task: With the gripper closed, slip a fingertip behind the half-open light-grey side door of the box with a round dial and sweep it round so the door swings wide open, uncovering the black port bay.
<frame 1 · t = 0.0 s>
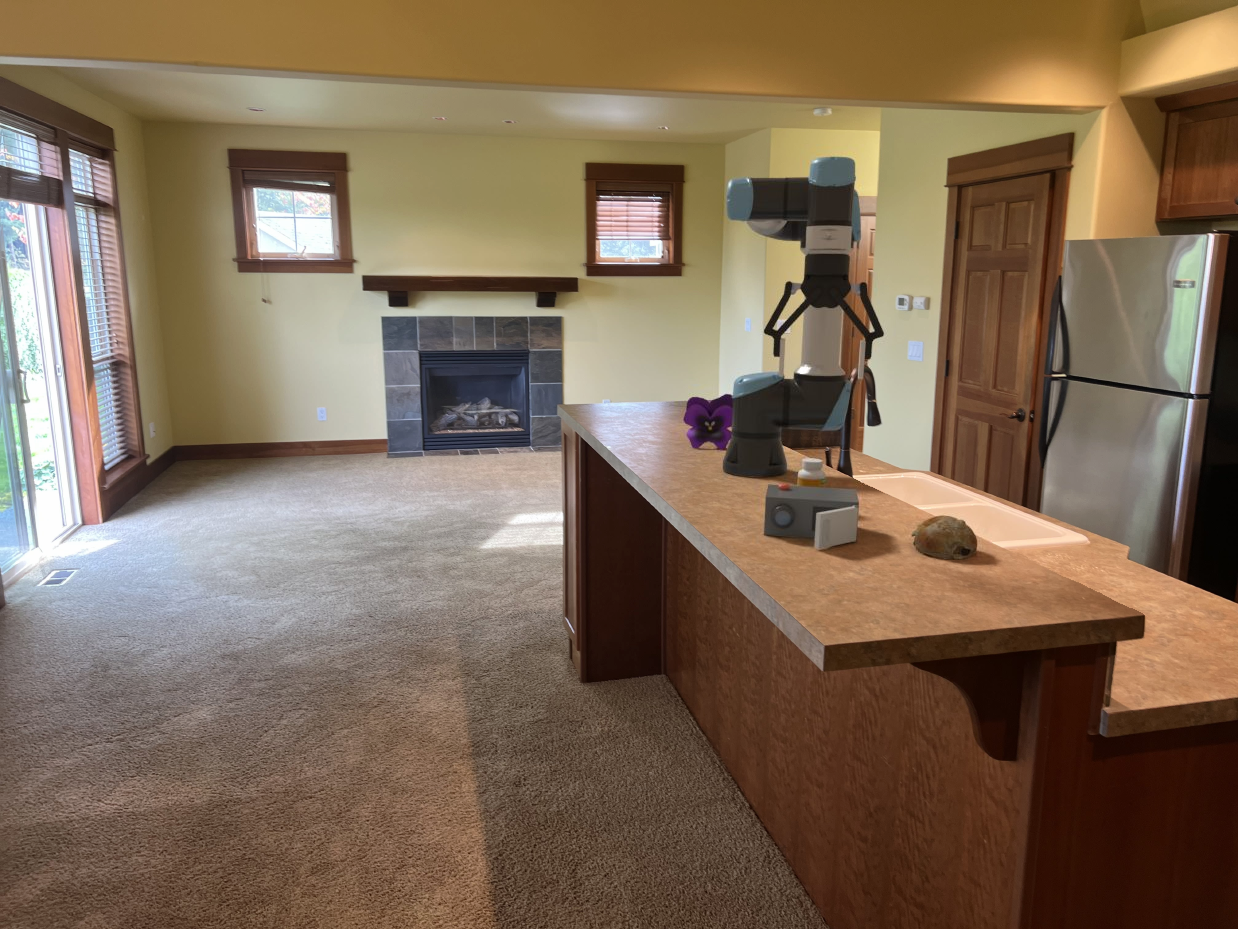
hand: (820, 377, 156), 28 cm above the countertop, tool pointing down, fingers open, 13 cm apart
supplement bottle: (809, 508, 178), on the countertop
box with round dial: (809, 530, 162), on the countertop
flower: (710, 445, 244), on the countertop
bread roll: (941, 552, 151), on the countertop
side door: (838, 527, 152), point 3 cm above the countertop, hinge at 45.0°
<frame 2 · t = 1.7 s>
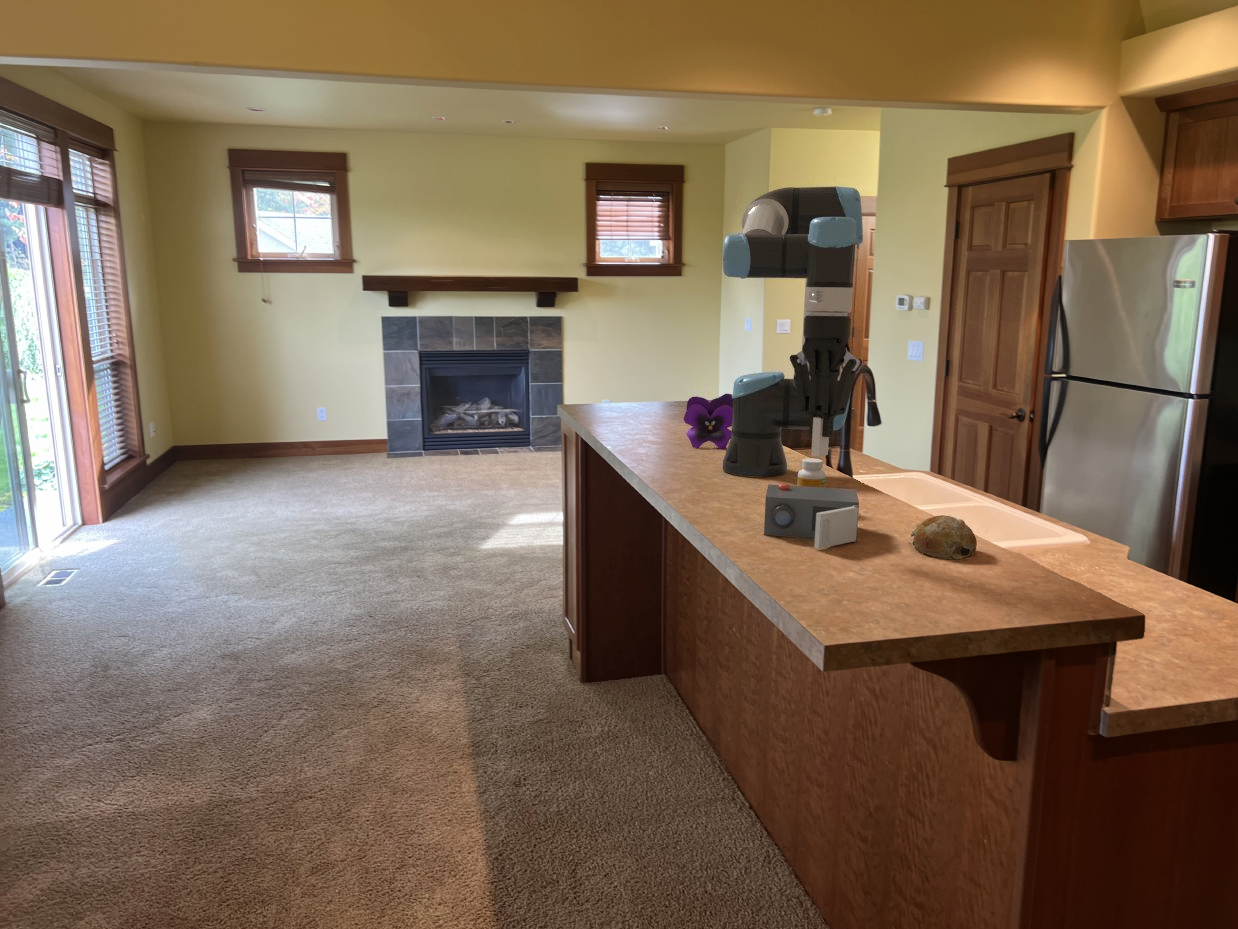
hand: (819, 455, 151), 16 cm above the countertop, tool pointing down, fingers closed
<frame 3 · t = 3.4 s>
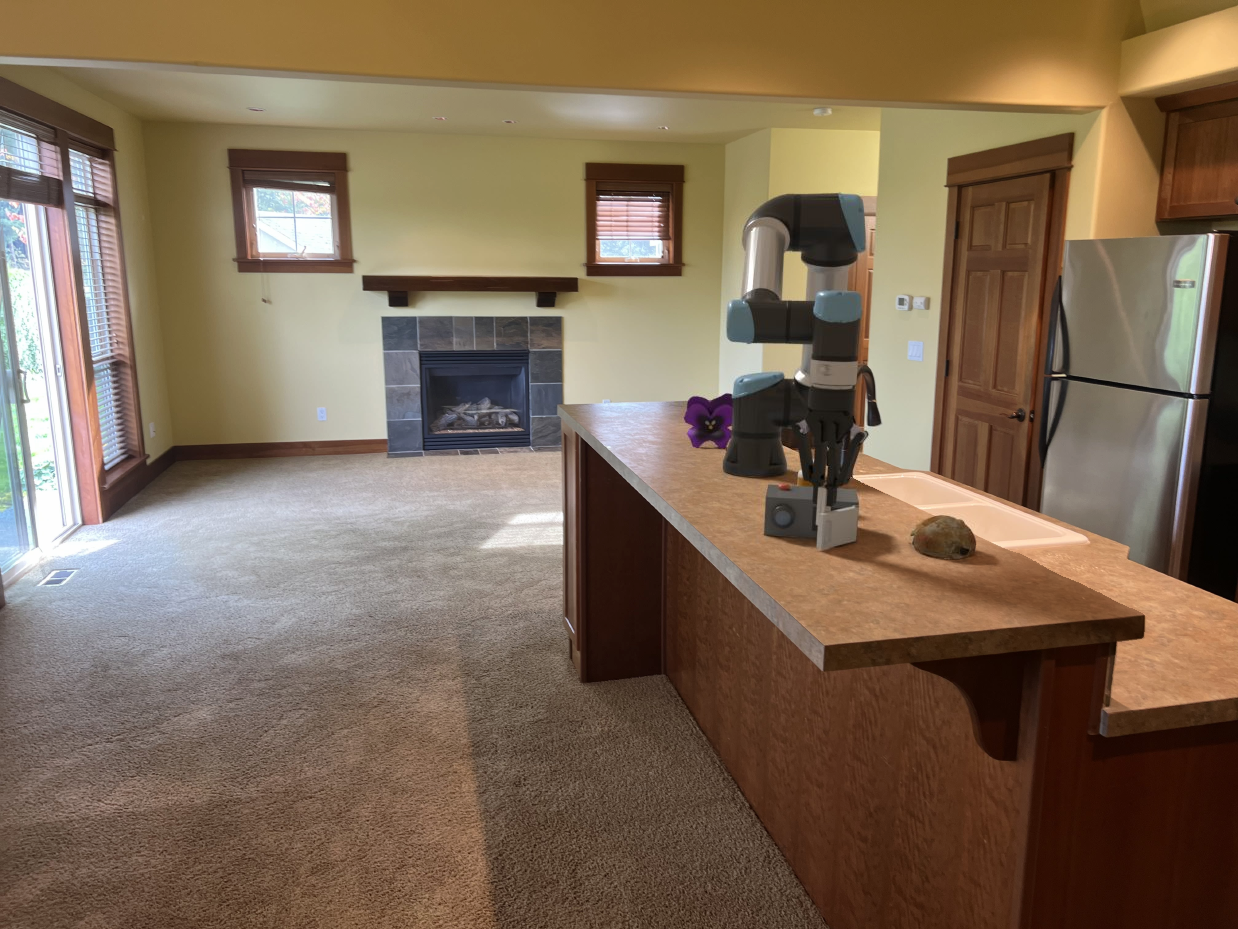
hand: (822, 523, 152), 4 cm above the countertop, tool pointing down, fingers closed
side door: (839, 527, 152), point 3 cm above the countertop, hinge at 48.4°, touching gripper
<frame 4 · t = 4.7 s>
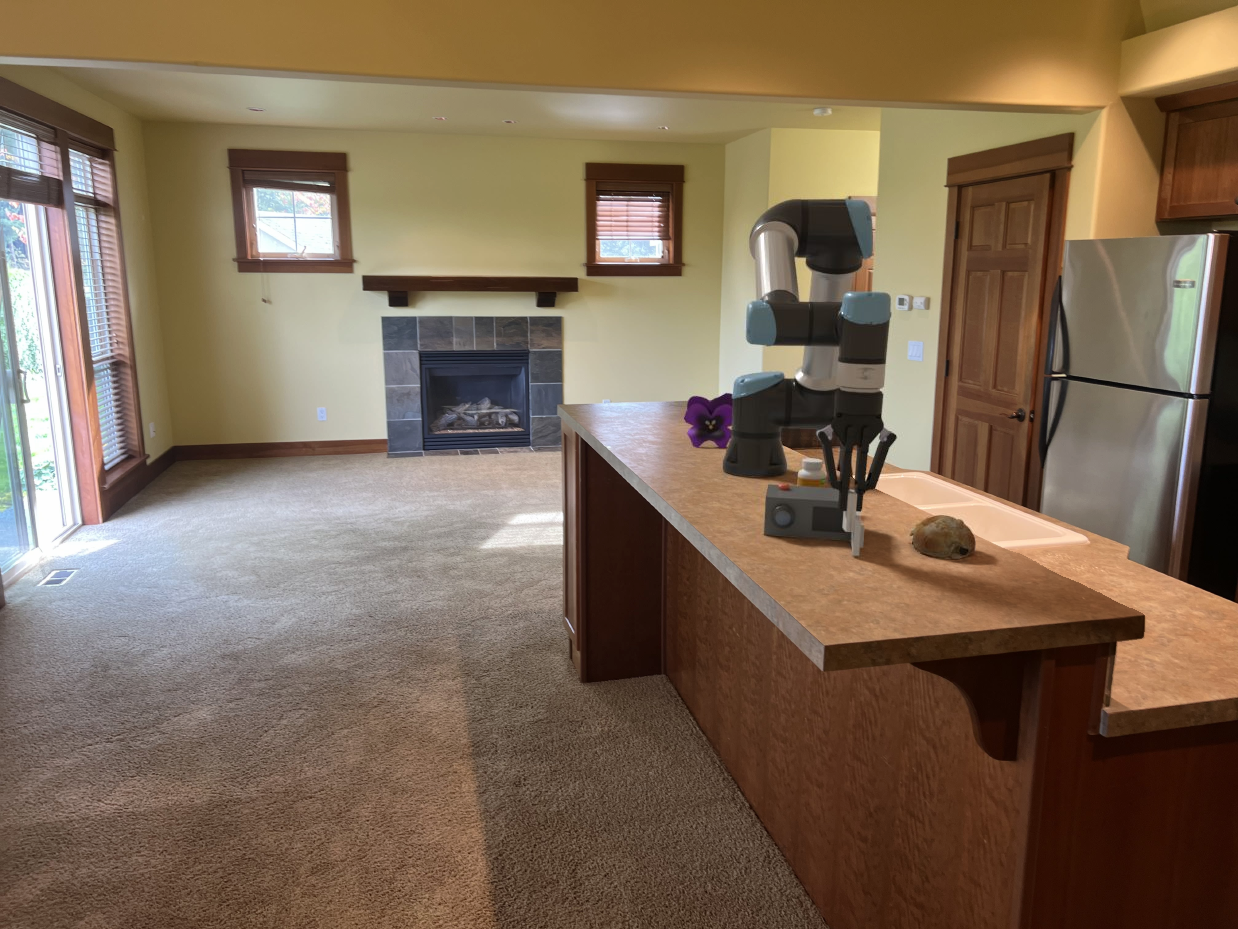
hand: (848, 529, 148), 4 cm above the countertop, tool pointing down, fingers closed
side door: (857, 530, 150), point 3 cm above the countertop, hinge at 89.8°, touching gripper
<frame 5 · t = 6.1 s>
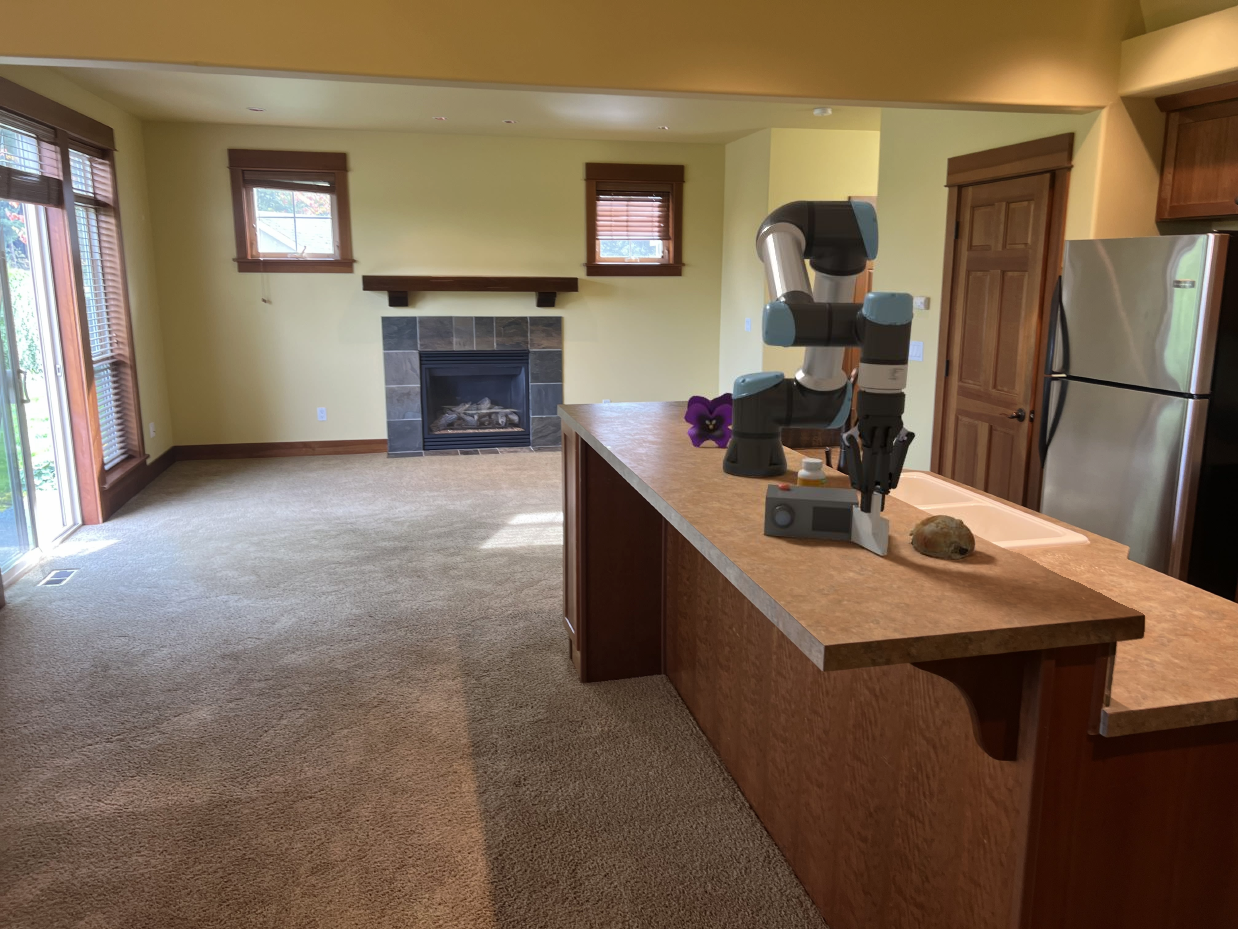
hand: (870, 530, 148), 4 cm above the countertop, tool pointing down, fingers closed
side door: (870, 529, 150), point 3 cm above the countertop, hinge at 120.1°, touching gripper
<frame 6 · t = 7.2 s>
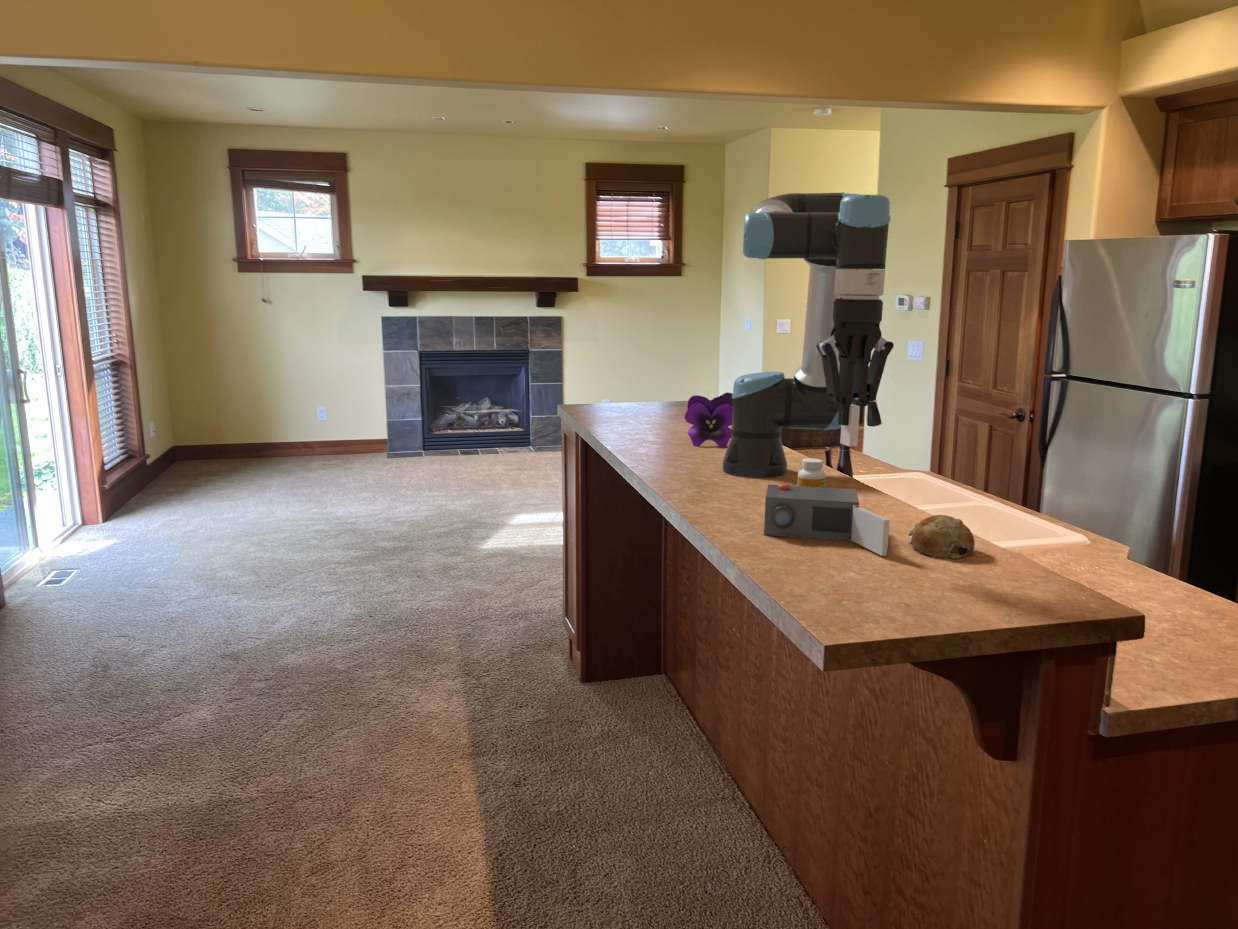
hand: (848, 444, 145), 19 cm above the countertop, tool pointing down, fingers closed
side door: (870, 529, 150), point 3 cm above the countertop, hinge at 120.2°
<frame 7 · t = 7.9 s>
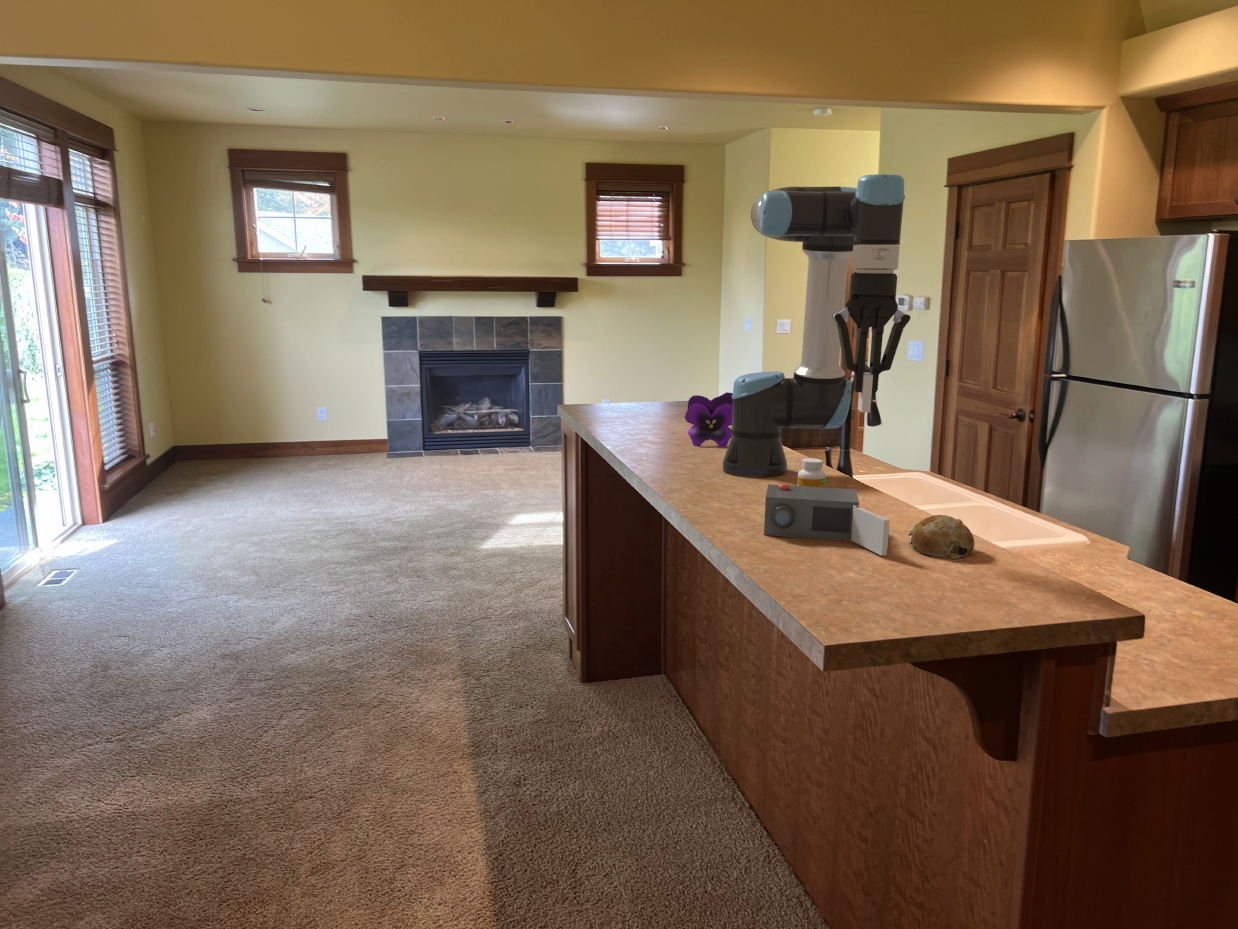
hand: (863, 410, 154), 23 cm above the countertop, tool pointing down, fingers closed
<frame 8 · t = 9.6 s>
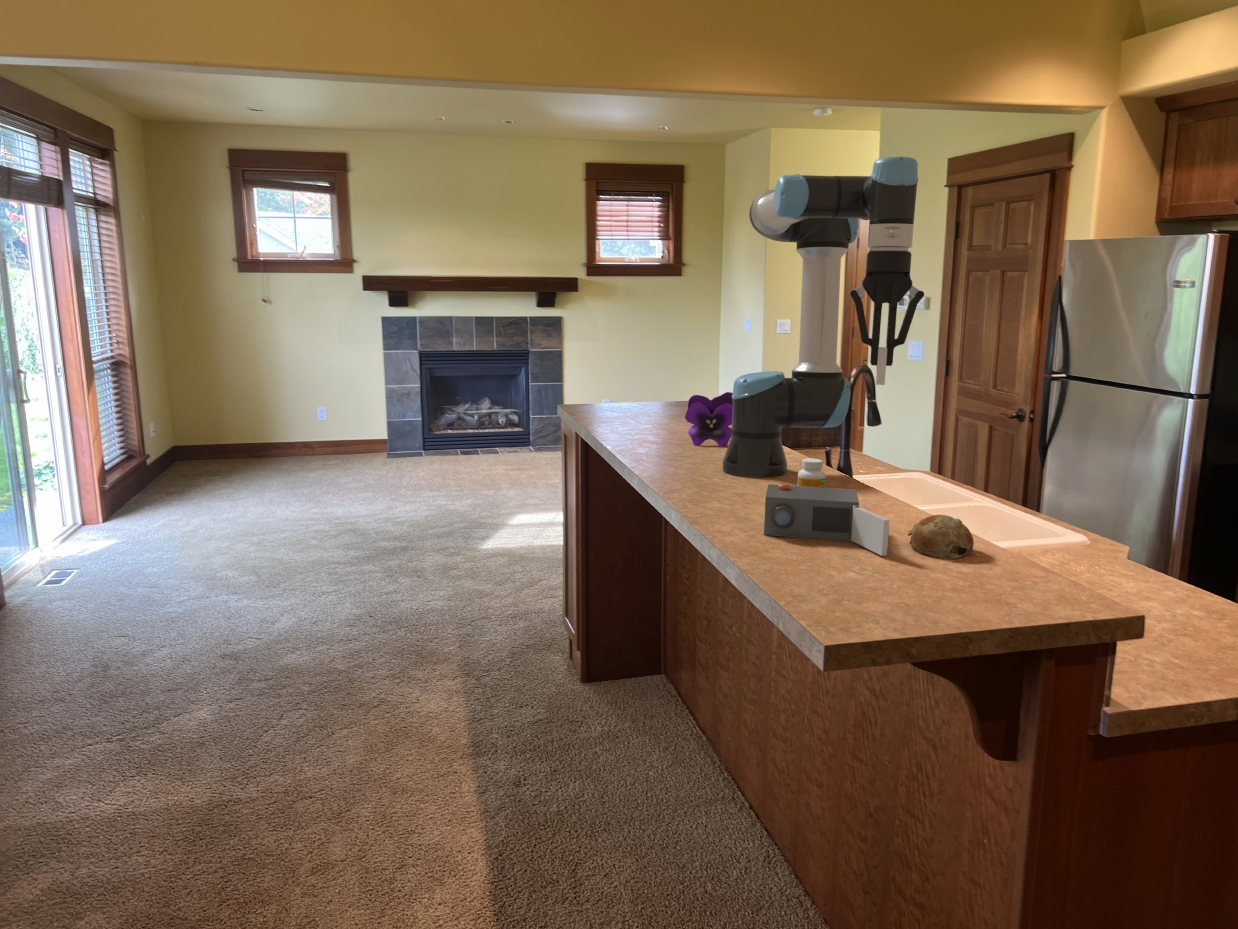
hand: (879, 383, 161), 26 cm above the countertop, tool pointing down, fingers closed
at the end: side door at +120° (first picture: +45°) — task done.
